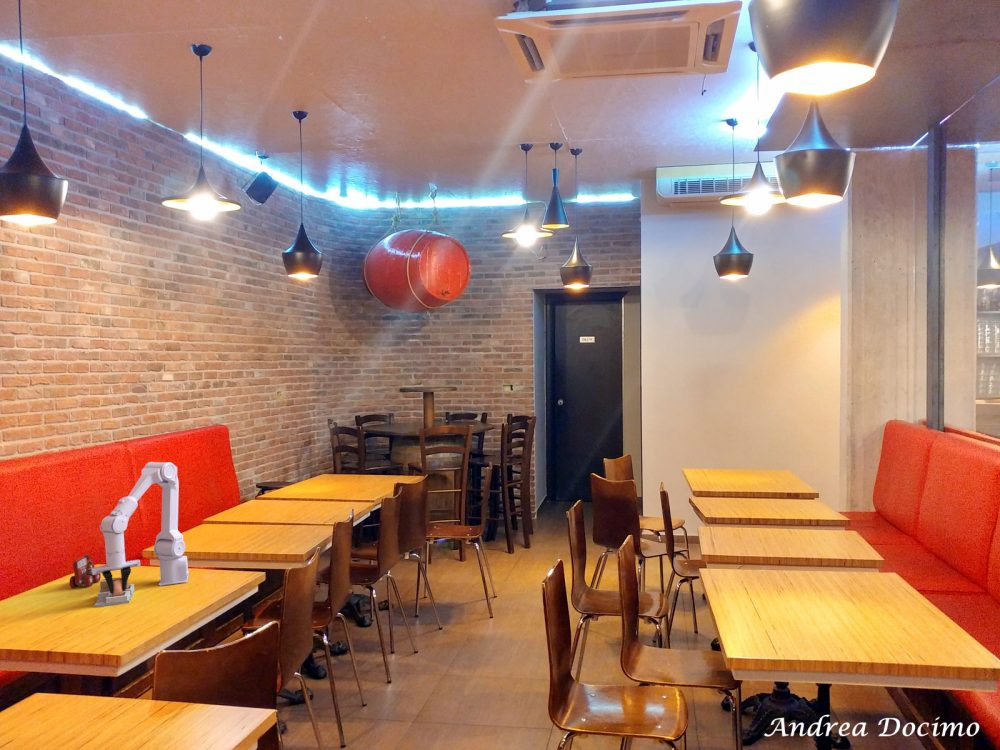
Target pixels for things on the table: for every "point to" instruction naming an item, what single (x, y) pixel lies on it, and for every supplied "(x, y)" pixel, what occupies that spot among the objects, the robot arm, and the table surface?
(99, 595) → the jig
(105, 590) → the tan rectangular block
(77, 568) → the toy fire truck
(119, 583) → the tail peg
